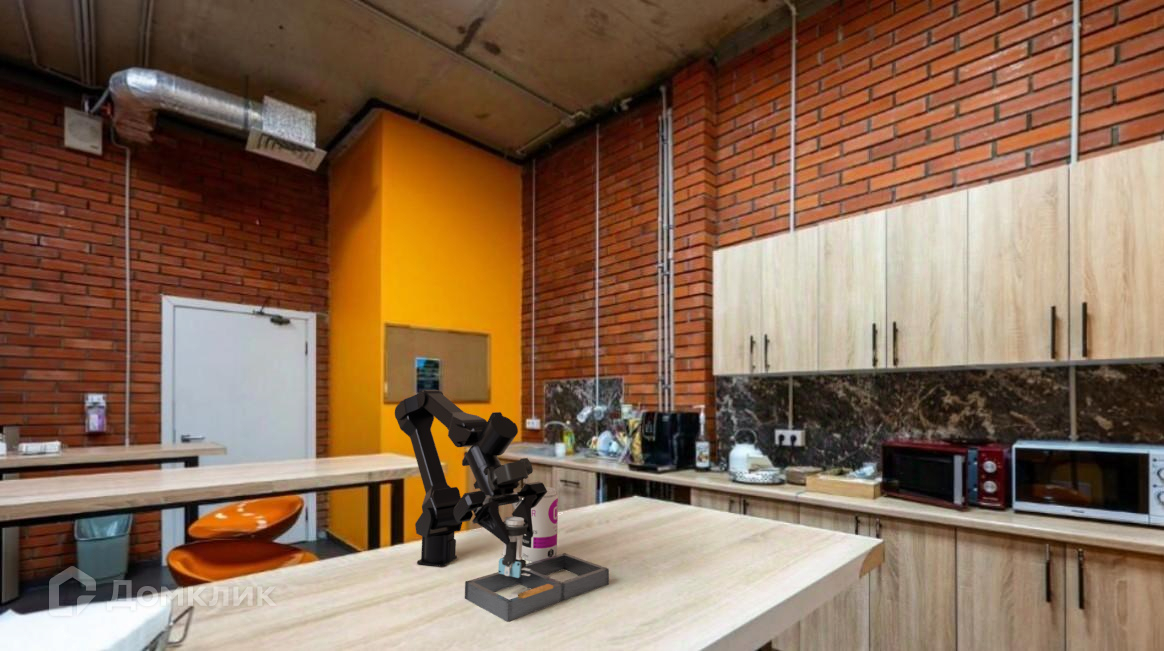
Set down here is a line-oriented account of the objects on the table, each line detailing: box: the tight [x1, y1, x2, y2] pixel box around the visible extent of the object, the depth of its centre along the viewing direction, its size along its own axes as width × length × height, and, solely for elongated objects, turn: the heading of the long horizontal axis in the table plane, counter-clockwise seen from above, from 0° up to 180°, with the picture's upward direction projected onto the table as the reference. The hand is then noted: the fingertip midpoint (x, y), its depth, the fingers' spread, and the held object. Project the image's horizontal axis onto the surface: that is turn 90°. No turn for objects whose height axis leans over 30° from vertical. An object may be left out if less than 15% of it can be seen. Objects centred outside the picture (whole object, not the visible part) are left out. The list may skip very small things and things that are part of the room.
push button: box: [497, 516, 531, 578], centre depth 102 cm, size 7×5×10 cm
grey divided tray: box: [464, 552, 610, 622], centre depth 105 cm, size 13×25×3 cm, turn 135°
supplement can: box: [521, 486, 559, 562], centre depth 126 cm, size 8×8×15 cm
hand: (520, 540), depth 101 cm, fingers closed on push button, 5 cm apart
